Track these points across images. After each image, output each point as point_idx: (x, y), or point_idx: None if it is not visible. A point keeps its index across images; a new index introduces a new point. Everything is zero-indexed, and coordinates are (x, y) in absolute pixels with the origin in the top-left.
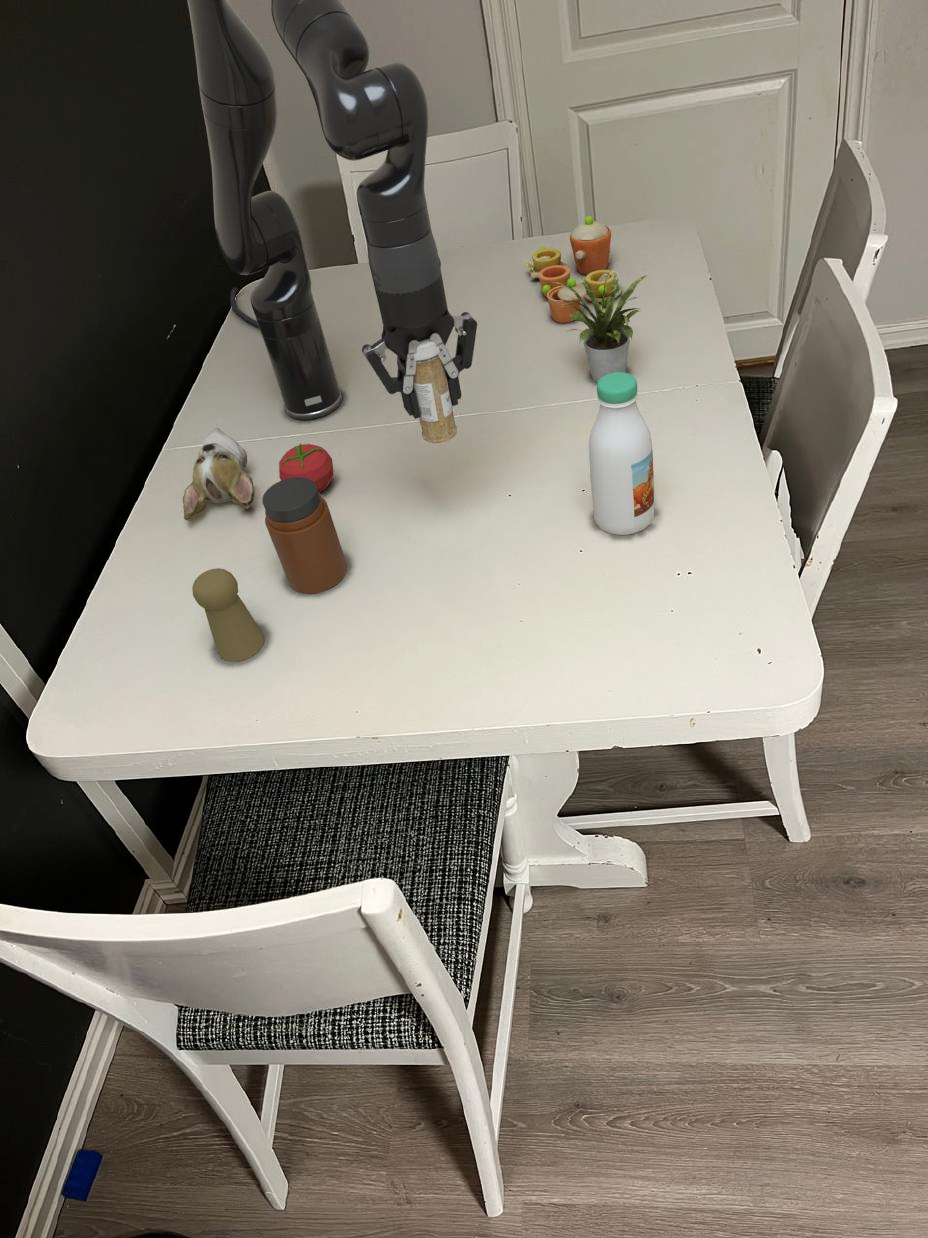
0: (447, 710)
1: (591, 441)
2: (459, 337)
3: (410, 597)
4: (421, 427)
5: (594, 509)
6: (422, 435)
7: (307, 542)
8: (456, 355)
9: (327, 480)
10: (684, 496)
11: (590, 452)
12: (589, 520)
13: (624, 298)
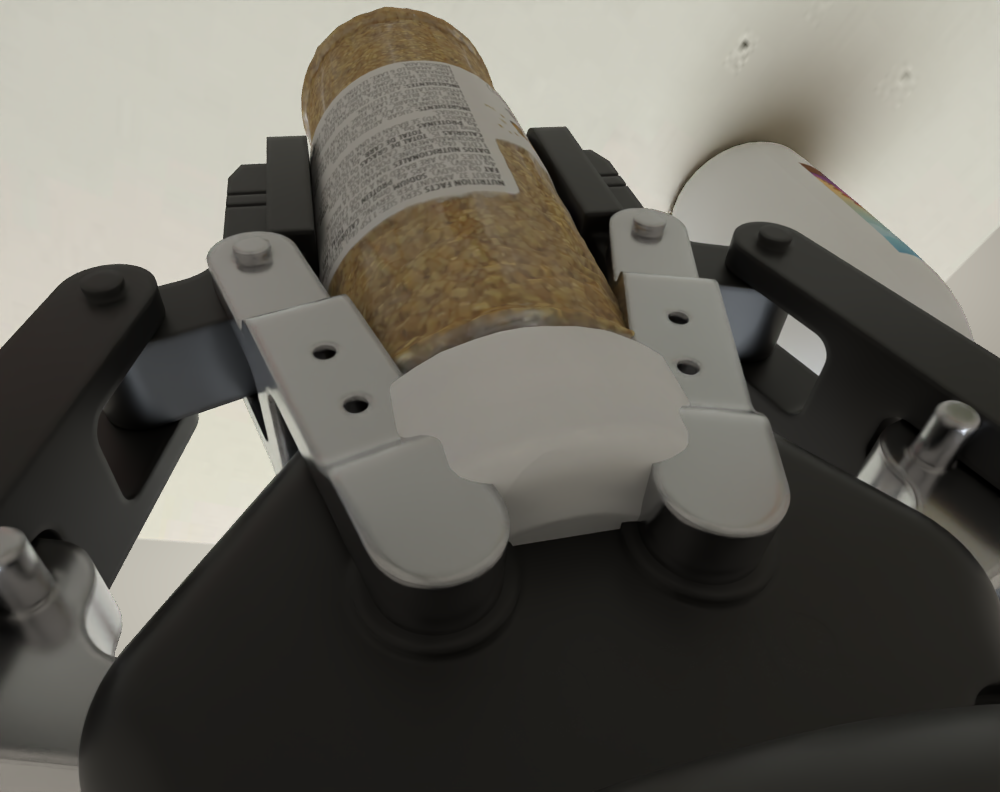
0: (187, 520)
1: (805, 359)
2: (863, 380)
3: (134, 242)
4: (310, 132)
5: (690, 229)
6: (304, 114)
7: None
8: (745, 276)
9: None
10: (873, 201)
11: (781, 336)
12: (671, 176)
13: None
